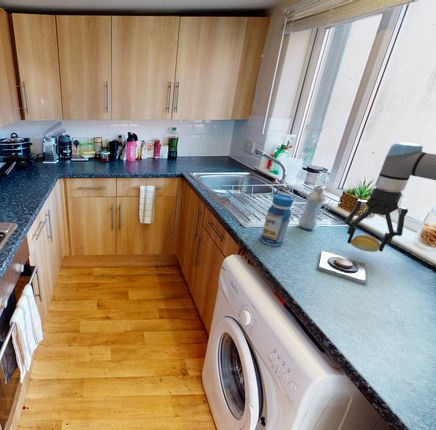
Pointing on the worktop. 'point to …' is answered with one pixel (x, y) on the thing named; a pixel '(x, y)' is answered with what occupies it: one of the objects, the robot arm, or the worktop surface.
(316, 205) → the plastic bottle
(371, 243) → the bread roll
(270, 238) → the beverage bottle
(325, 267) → the push button
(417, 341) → the worktop surface
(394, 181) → the robot arm
